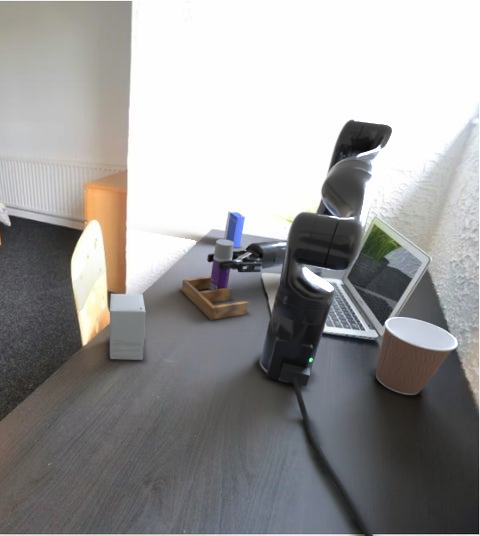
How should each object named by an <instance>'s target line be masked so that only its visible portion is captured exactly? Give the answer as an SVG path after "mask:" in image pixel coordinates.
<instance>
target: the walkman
mask: <svg viewBox="0 0 480 536" xmlns="http://www.w3.org/2000/svg"><path fill="white" fill-rule="evenodd" d="M227 212H228V213H227V218H226V224H225V229H224V236H223V239H225V240H230V241H232V242H233V243H234V249H237V248H238V249H239V248H240V247H241V241H242V236H243V230H244V229H243V228H244V226H245V225H244V224H245V219H246V216H244V214H242V213H239V212H238V211H236V210H228V211H227Z"/></svg>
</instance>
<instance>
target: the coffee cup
mask: <svg viewBox="0 0 480 536" xmlns="http://www.w3.org/2000/svg"><path fill="white" fill-rule="evenodd" d="M384 327H385V328H384V333H383V336H382V341H381V346H380V349H379V350H380V351H379V355H378V358H377V364H376V368H375V377H376V379H377V381H378V382H379V383H380V384H381V385H382V386H383V387H385V388H387V389H389V390H390V391H392V392H395V393H398V394H402V395H407V396H415V395H418V394H419V393H420V392H421V390H423V389H424V388H426V385H427V384H428V383H429V382H430V380H431V379H432V378H433V377H434V376H435V375H436V374H437V372H438V371H439V370H440V368H441V366H442V365H443V363H444V362H445V361H446V359H447V358H448V356H449V355H450V354H451V353H452V352H453V350H455V349H457V348H458V343H459V342H458V340H457V339H456V337H455V336H454V335H452V333H450V332H448V331H447V330H446V329H444V328H442V327H439V326H438V325H435V324H433V323H430V322H428V321H424V320H420V319H416V318H413V317H403V316H394V317H390V318H388V319H386V320H385V321H384Z"/></svg>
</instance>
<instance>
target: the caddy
mask: <svg viewBox="0 0 480 536" xmlns="http://www.w3.org/2000/svg"><path fill="white" fill-rule="evenodd" d="M210 280H211V275H209V276H201V277H193V278H186V279H182V281H181V282H182V283H181V291H182V293H183V294H184V295H185V296H186V297H188V299H189V300H190V301H191V302H192V303H194V304H195V306H197V308H199V310H201V311H202V313H204V314H205V315H206V316H207V317H208V319H210V321H213V320H220V319H225V318H232V317H238V316H243V315H247V311H248V305H249V302H248V301H246V300H244V301H243V300H242V301H237V302H230V303H223V304H217V305H214V304H213V303H219V302H225V301H230V297H231V291H232V289H231V288H230V287H227V288H222V289H215V290H209V288H210ZM207 289H208V290H207ZM199 290H200V291H199ZM201 290H202V291H201Z"/></svg>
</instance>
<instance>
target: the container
mask: <svg viewBox="0 0 480 536" xmlns="http://www.w3.org/2000/svg"><path fill="white" fill-rule="evenodd" d="M233 245H234V243H233V242H232V241H230V240H225V239H224V238H223V239H222V238H221V239H216V241H215V248H214V252H213V254H214V258H213V262H212V265H211V266H212V267H211V274H210V276H211V280H210V288H208V290H215V289H222V288H228V287H229V285H228V284H229V278H230V273H231V269H225V270H219V269H218V263H219V262H222V261H229V260H231V261H232V255H233V254H232V253H233Z"/></svg>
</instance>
